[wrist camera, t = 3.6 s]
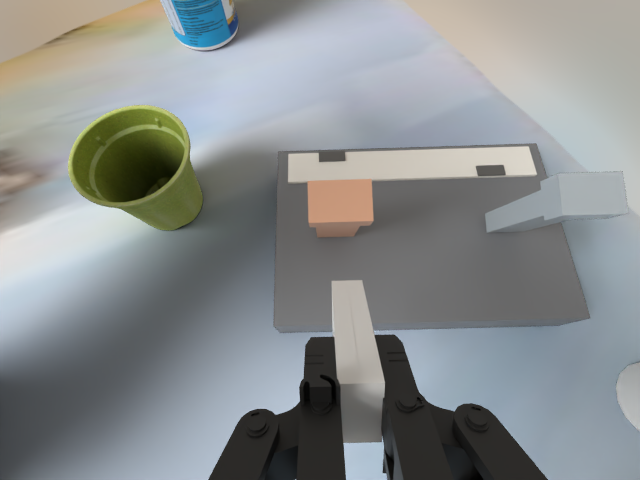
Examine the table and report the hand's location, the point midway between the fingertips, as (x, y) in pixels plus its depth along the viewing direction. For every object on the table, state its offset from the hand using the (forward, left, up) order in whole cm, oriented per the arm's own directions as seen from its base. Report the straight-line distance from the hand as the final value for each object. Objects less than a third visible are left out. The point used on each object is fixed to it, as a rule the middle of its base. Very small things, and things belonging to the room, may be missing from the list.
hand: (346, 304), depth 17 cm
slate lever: (+14, +8, -10) cm, 19 cm away
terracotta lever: (0, +8, -10) cm, 13 cm away
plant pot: (-16, +13, -14) cm, 25 cm away
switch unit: (+7, +8, -14) cm, 17 cm away
